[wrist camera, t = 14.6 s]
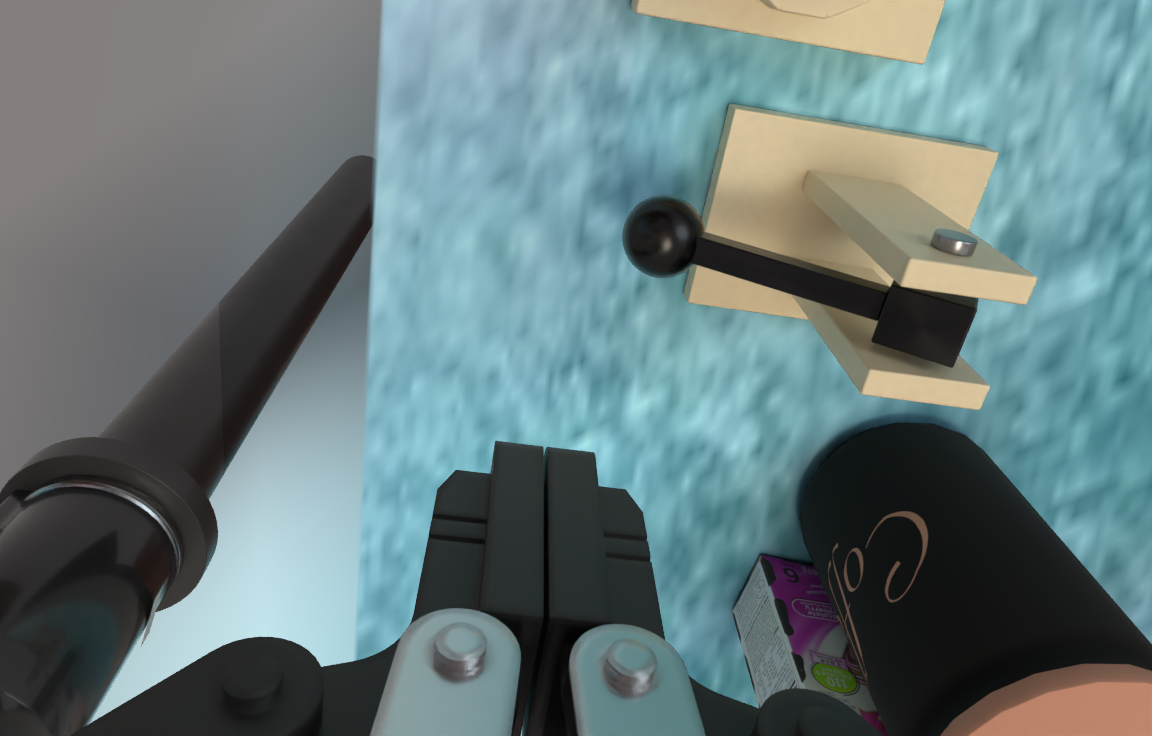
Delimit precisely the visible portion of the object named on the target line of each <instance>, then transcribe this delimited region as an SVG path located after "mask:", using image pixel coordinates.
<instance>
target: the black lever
mask: <svg viewBox="0 0 1152 736" xmlns="http://www.w3.org/2000/svg"><path fill="white" fill-rule="evenodd" d="M622 240H623V246H624V250H625V253H626V255H627V257H628V259H629V260H630V262H631V263H632V264H633V265H634V266H635V267H636V268H637V269H638V270H639V271H641V272H642V273H644V274H646V275H649V276H652V277H656V278H669V277H674V276H677V275H680V274H682V273H684V272H685V271H687V270H688V269H689V268H691V267H692V266H693V265H694V264H695V265H698V266H701V267H705V268H708V269H711V270H714V271H717V272H721V273H724V274H727V275H730V276H734V277H737V278H740V279H743V280H746V281H750V282H753V283H756V284H759V285H762V286H766V287H769V288H772V289H775V290H778V291H782V292H785V293H788V294H791V295H794V296H798V297H801V298H804V299H807V300H811V301H814V302H817V303H820V304H823V305H827V306H830V307H833V308H836V309H839V310H843V311H846V312H849V313H852V314H855V315H859V316H862V317H865V318H868V319H871V320H875V321H878V323H877V325H876V328H875V331H874V334H873V336H872V339H871V342H872V343H876V344H879V345H882V346H885V347H888V348H891V349H894V350H897V351H900V352H904V353H907V354H910V355H913V356H916V357H919V358H922V359H925V360H929V361H932V362H935V363H938V364H941V365H944V366H947V367H950V368H953V367H954V365H955V362H956V360H957V357H958V355H959V353H960V350H961V348H962V345H963V343H964V341H965V338H966V336H967V333H968V331H969V329H970V326H971V324H972V321H973V319H974V317H975V314H976V312H977V305H978V298H975V297H968V296H961V295H954V294H948V293H941V292H934V291H927V290H921V289H914V288H907V287H901V286H900V285H899V284H898V283H897V282H896V281H895V280H893V282H892V284H891V286H890V287H889V286H886V285H883V284H879V283H876V282H873V281H869V280H866V279H862V278H859V277H856V276H852V275H849V274H846V273H842V272H839V271H836V270H832V269H829V268H825V267H822V266H819V265H815V264H812V263H809V262H805V261H802V260H798V259H795V258H792V257H788V256H785V255H782V254H778V253H775V252H771V251H768V250H765V249H761V248H758V247H755V246H751V245H748V244H744V243H741V242H738V241H734V240H731V239H728V238H724V237H721V236H717V235H714V234H711V233H707V232H704V226H703V222H702V220H701V218H700V216H699V214H698V213H697V211H696V210H695V209H694V208H693V207H692V206H691V205H690V204H689V203H687V202H686V201H684V200H682V199H680V198H678V197H675V196H669V195H659V196H654V197H651V198H648V199H646V200H644V201H642V202H641V203H640V204H638V205H637V206H636V207H635V208H634V209H633V210H632V211H631V213H630V214H629V216H628V217H627V219H626V222H625V224H624V228H623V234H622Z"/></svg>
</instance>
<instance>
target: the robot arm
mask: <svg viewBox="0 0 1152 736" xmlns="http://www.w3.org/2000/svg"><path fill="white" fill-rule="evenodd" d="M183 561H184V543H183V539H182V536H181V533H180V531H179V529H178V527H177V525H176V523H175V522H174V520H173V519H172V517H171V516H170V515H169V513H168V512H167V511H166V510H165V509H164V508H163V507H162V506H161V505H160V504H159V503H158V502H156V501H155V500H154V499H152V498H151V497H150V496H148V495H147V494H145V493H144V492H142V491H140V490H138V489H137V488H135V487H132V486H130V485H128V484H125V483H123V482H120V481H117V480H114V479H110V478H106V477H100V476H93V475H72V476H65V477H60V478H56V479H53V480H50V481H48V482H46V483H44V484H42V485H40V486H39V487H37V488H36V489H34V490H14V491H13V492H12V493H11V494H10V495H9V496H8V497H7V498H6V500H5V501H4V502H3V503H2V504H1V505H0V736H520V735H521V730H522V736H884V735H883V734H882V733H881V732H879V731H878V730H877V729H876V728H875V727H873V726H872V725H871V724H870V723H869V722H867V721H866V720H865V719H864V718H863V717H861V716H860V715H859V714H858V713H856V712H855V711H854V710H853V709H851V708H850V707H849V706H847V705H846V704H844V703H843V702H841V701H839V700H837V699H836V698H833V697H831V696H829V695H827V694H824V693H821V692H818V691H815V690H809V689H801V688H792V689H785V690H782V691H778V692H776V693H774V694H773V695H771V696H770V697H769V698H768V699H766V700H765V702H764V703H763V705H762V706H761V708H760V709H758V708H756V707H753V706H750V705H748V704H745V703H742V702H739V701H737V700H734V699H731V698H729V697H726V696H723V695H721V694H718V693H716V692H714V691H711V690H710V689H708V688H706V687H704V686H702V685H701V684H699V683H698V682H697V681H695V680H694V679H692V678H691V677H690V676H689V675H688V672H687V669H686V667H685V664H684V662H683V660H682V658H681V657H680V655H679V654H678V653H677V651H676V650H675V649H674V648H673V647H672V646H671V645H670V644H669V643H668V642H666V641H665V637H664V631H663V626H662V620H661V614H660V608H659V603H658V597H657V591H656V585H655V580H654V574H653V568H652V563H651V562H650V551H649V545H648V542H647V534H646V528H645V522H644V517H643V512H642V511H641V509H640V508H639V507H638V505H637V504H636V503H635V501H634V500H633V499H632V498H631V496H630V495H629V494H628V492H627V491H626V490H625V489H617V488H609V487H600V486H598V478H597V468H596V458H595V453H594V452H585V451H577V450H569V449H560V448H552V447H546V450H545V454H544V452H543V447H542V446H534V445H526V444H517V443H509V442H501V441H495V446H494V453H493V460H492V467H491V474H487V473H478V472H469V471H461V470H455V471H454V473H453V474H452V475H451V476H450V477H449V478H448V479H447V480H446V481H445V482H444V483H443V484H442V485H441V486H440V487H439V488H438V490H437V495H436V500H435V505H434V511H433V517H432V521H431V526H430V531H429V538H428V542H427V547H426V552H425V557H424V563H423V568H422V573H421V578H420V584H419V589H418V594H417V599H416V604H415V610H414V614H413V618H412V621H411V623H410V625H409V627H408V628H407V629H406V630H405V632H404V633H403V635H402V636H401V637H400V638H399V639H398V640H397V641H396V642H395V643H394V644H392V645H391V646H390V647H388V648H387V649H385V650H383V651H381V652H379V653H377V654H375V655H373V656H370V657H367V658H365V659H361V660H357V661H353V662H347V663H341V664H336V665H330V666H324V667H321V666H320V664H319V662H318V661H317V659H316V658H315V657H314V656H313V655H312V654H311V653H310V652H309V651H308V650H307V649H305V648H304V647H302V646H300V645H299V644H296V643H294V642H292V641H288V640H285V639H282V638H274V637H254V638H247V639H242V640H238V641H234V642H231V643H229V644H226V645H223V646H221V647H220V648H218V649H216V650H214V651H212V652H210V653H208V654H207V655H205V656H203V657H202V658H200V659H198V660H196V661H195V662H193V663H191V664H190V665H188V666H186V667H185V668H183V669H181V670H180V671H178V672H176V673H175V674H173V675H171V676H170V677H168V678H166V679H164V680H163V681H161V682H160V683H158V684H156V685H154V686H153V687H151V688H149V689H148V690H146V691H144V692H142V693H141V694H139V695H137V696H136V697H134V698H132V699H131V700H129V701H127V702H126V703H124V704H122V705H121V706H119V707H117V708H115V709H114V710H112V711H111V712H109V713H107V714H105V715H104V716H102V717H100V718H98V719H97V720H95V721H93V722H92V723H90V722H91V721H92V719H93V717H94V715H95V714H96V712H97V710H98V709H99V707H100V705H101V703H102V702H103V700H104V698H105V696H106V695H107V693H108V691H109V690H110V688H111V686H112V684H113V682H114V681H115V679H116V677H117V676H118V674H119V672H120V670H121V669H122V667H123V665H124V664H125V662H126V660H127V659H128V657H129V655H130V653H131V652H132V650H133V648H134V647H135V645H136V643H137V641H138V640H139V638H140V636H141V634H142V633H143V631H144V629H145V628H146V626H147V628H146V632H145V635H144V638H143V641H142V644H143V642H144V641H145V639H146V637H147V635H148V634H149V631H150V628H151V625H152V621H153V618H154V615H155V611H156V609H157V607H158V605H159V604H160V602H161V600H163V598H164V597H165V595H166V593H167V592H168V590H169V589H170V588H171V586H172V585H173V583H174V581H175V579H176V578H177V576H178V574H179V572H180V570H181V568H182V565H183ZM522 725H523V729H522Z"/></svg>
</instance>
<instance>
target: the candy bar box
mask: <svg viewBox="0 0 1152 736" xmlns="http://www.w3.org/2000/svg"><path fill="white" fill-rule="evenodd" d="M732 613H733V616H734V620H735V624H736V628H737V631H738V635H739V639H740V642H741V645H742V649H743V653H744V657H745V660H746V663H747V667H748V671H749V674H750V678H751V681H752V685H753V689H754V692H755V696H756V700H757V704H758V707H759V709H760V708H761V706H762V705H763V703H764V702H765V700H766V699H768V698H769V697H770V696H771V695H773V694H774V693H776V692H778V691H782V690H785V689H792V688H801V689H809V690H815V691H818V692H821V693H824V694H827V695H829V696H831V697H833V698H836V699H837V700H839V701H841V702H843V703H844V704H846V705H847V706H849V707H850V708H851V709H853V710H854V711H855V712H856V713H858V714H859V715H860V716H861V717H863V718H864V719H865V720H866V721H867V722H869V723H870V724H871V725H872V726H873V727H875V728H876V729H877V730H878V731H879V732H881V733H882V734H883V735H884V736H888V734H887V732H886V729H885V727H884V725H883V723H882V720H881V718H880V716H879V713H878V711H877V709H876V706H875V704H874V702H873V700H872V697H871V695H870V693H869V690H868V688H867V686H866V683H865V681H864V679H863V677H862V674H861V672H860V670H859V667H858V665H857V663H856V660H855V658H854V656H853V654H852V651H851V649H850V647H849V644H848V642H847V640H846V637H845V635H844V633H843V631H842V628H841V626H840V624H839V621H838V619H837V617H836V614H835V612H834V610H833V608H832V605H831V603H830V601H829V598H828V596H827V594H826V591H825V589H824V587H823V585H822V582H821V580H820V578H819V575H818V573H817V571H816V568H815V566H813V565H808V564H803V563H798V562H793V561H788V560H784V559H779V558H774V557H769V556H765V555H760V557H759V558H758V560H757V562H756V564H755V565H754V567H753V569H752V572H751V575H750V577H749V580H748V582H747V584H746V586H745V588H744V589H743V591H742V593H741V595H740V597H739V599H738V601H737V603H736V605H735V607H734V609H733V612H732Z"/></svg>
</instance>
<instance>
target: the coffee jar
mask: <svg viewBox="0 0 1152 736" xmlns="http://www.w3.org/2000/svg"><path fill="white" fill-rule="evenodd" d="M800 522H801V528H802V534H803V540H804V543H805V545H806V548H807V550H808V552H809V555H810V557H811V559H812V562H813V564H814V566H815V568H816V571H817V573H818V575H819V578H820V580H821V582H822V585H823V587H824V589H825V591H826V594H827V596H828V598H829V601H830V603H831V605H832V608H833V610H834V612H835V614H836V617H837V619H838V621H839V624H840V626H841V628H842V631H843V633H844V635H845V637H846V640H847V642H848V644H849V647H850V649H851V651H852V654H853V656H854V658H855V660H856V663H857V665H858V667H859V670H860V672H861V674H862V677H863V679H864V681H865V683H866V686H867V688H868V690H869V693H870V695H871V697H872V700H873V702H874V704H875V706H876V709H877V711H878V713H879V716H880V718H881V720H882V723H883V725H884V727H885V729H886V732H887V734H888V736H1152V644H1151V643H1150V642H1149V641H1148V640H1147V638H1146V637H1145V636H1144V635H1143V634H1142V633H1141V632H1140V630H1139V629H1138V628H1137V627H1136V626H1135V625H1134V623H1133V622H1132V621H1131V620H1130V619H1129V618H1128V616H1127V615H1126V614H1125V613H1124V612H1123V611H1122V610H1121V608H1120V607H1119V606H1118V605H1117V604H1116V603H1115V601H1114V600H1113V599H1112V598H1111V597H1110V596H1109V595H1108V593H1107V592H1106V591H1105V590H1104V589H1103V588H1102V586H1101V585H1100V584H1099V583H1098V582H1097V581H1096V580H1095V578H1094V577H1093V576H1092V575H1091V574H1090V573H1089V571H1088V570H1087V569H1086V568H1085V567H1084V566H1083V565H1082V563H1081V562H1080V561H1079V560H1078V559H1077V558H1076V556H1075V555H1074V554H1073V553H1072V552H1071V551H1070V550H1069V548H1068V547H1067V546H1066V545H1065V544H1064V543H1063V541H1062V540H1061V539H1060V538H1059V537H1058V536H1057V535H1056V533H1055V532H1054V531H1053V530H1052V529H1051V528H1050V526H1049V525H1048V524H1047V523H1046V522H1045V521H1044V520H1043V518H1042V517H1041V516H1040V515H1039V514H1038V513H1037V511H1036V510H1035V509H1034V508H1033V507H1032V506H1031V505H1030V503H1029V502H1028V501H1027V500H1026V499H1025V498H1024V496H1023V495H1022V494H1021V493H1020V492H1019V491H1018V490H1017V488H1016V487H1015V486H1014V485H1013V484H1012V483H1011V481H1010V480H1009V479H1008V478H1007V477H1006V476H1005V475H1004V473H1003V472H1002V471H1001V470H1000V469H999V468H998V466H997V465H996V464H995V463H994V462H993V461H992V459H991V458H990V457H989V456H988V455H987V454H986V453H985V451H983V450H982V449H981V448H980V447H979V446H977V445H976V444H975V443H974V442H973V441H971V440H970V439H969V438H968V437H967V436H965V435H964V434H961V433H958V432H955V431H952V430H949V429H946V428H943V427H940V426H938V425H934V424H922V423H894V424H889V425H885V426H881V427H877V428H873V429H868V430H866V431H864V432H863V433H861V434H859V435H857V436H855V437H853V438H851V439H849V440H847V441H845V442H843V443H842V444H841V445H840V446H839V447H838V448H837V449H836V450H834V451H833V452H832V453H831V454H830V455H829V456H828V457H827V458H826V459H825V460H823V462H822V463H821V465H820V467H819V468H818V470H817V472H816V473H815V475H814V476H813V478H812V480H811V481H810V483H809V485H808V487H807V488H806V492H805V496H804V501H803V505H802V510H801V515H800Z"/></svg>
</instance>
